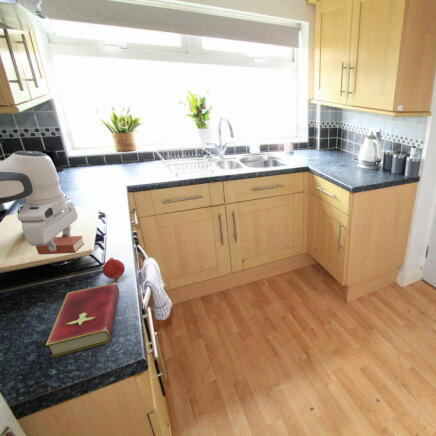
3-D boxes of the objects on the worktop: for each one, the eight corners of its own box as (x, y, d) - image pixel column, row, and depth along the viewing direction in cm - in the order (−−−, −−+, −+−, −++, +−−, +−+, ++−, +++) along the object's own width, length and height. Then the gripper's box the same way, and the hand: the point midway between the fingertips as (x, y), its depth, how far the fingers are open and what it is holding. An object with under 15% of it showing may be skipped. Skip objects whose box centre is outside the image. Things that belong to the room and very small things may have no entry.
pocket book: (38, 254, 99) (35, 246, 98) (50, 245, 104) (47, 237, 103) (75, 253, 101) (72, 244, 100) (84, 243, 106) (82, 235, 105)
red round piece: (102, 284, 100) (96, 263, 97) (110, 274, 105) (104, 253, 102) (123, 283, 101) (117, 261, 98) (129, 273, 106) (124, 252, 103)
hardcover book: (120, 293, 96) (116, 281, 95) (111, 341, 79) (107, 329, 77) (71, 303, 91) (67, 291, 90) (51, 357, 74) (45, 344, 73)
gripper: (55, 192, 105) (67, 230, 111) (12, 218, 87) (29, 261, 92) (77, 192, 106) (87, 229, 112) (39, 217, 88) (53, 260, 94)
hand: (60, 244), depth 102 cm, fingers closed on pocket book, 6 cm apart
